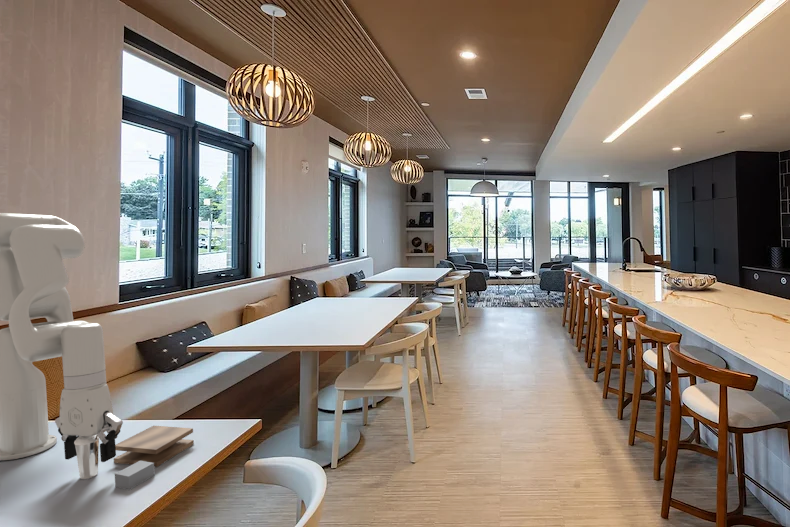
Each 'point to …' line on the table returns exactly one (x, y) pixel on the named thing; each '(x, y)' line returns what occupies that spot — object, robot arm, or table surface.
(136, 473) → the block
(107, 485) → the table surface
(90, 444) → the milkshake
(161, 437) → the stand
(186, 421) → the table surface
